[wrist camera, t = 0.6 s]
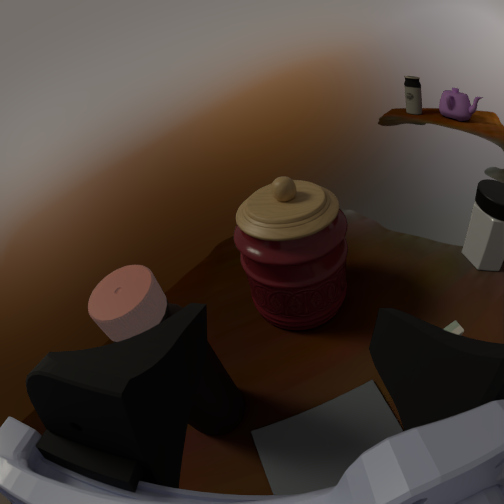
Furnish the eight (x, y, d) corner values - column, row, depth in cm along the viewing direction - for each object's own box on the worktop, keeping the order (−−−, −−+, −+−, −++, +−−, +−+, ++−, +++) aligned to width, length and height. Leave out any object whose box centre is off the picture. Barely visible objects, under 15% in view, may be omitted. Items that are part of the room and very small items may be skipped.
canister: (356, 271, 40) (355, 157, 29) (329, 344, 32) (325, 220, 21) (277, 257, 46) (255, 154, 35) (238, 318, 38) (194, 206, 27)
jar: (497, 280, 30) (522, 215, 23) (457, 260, 36) (473, 194, 29) (505, 250, 34) (523, 190, 27) (469, 233, 40) (481, 173, 32)
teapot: (431, 116, 97) (430, 85, 88) (446, 111, 103) (446, 84, 94) (475, 129, 80) (476, 96, 71) (485, 123, 87) (486, 94, 77)
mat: (443, 505, 13) (444, 505, 12) (307, 572, 11) (307, 572, 11) (371, 381, 27) (372, 379, 26) (251, 432, 25) (250, 431, 25)
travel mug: (413, 110, 107) (411, 75, 96) (425, 114, 100) (423, 78, 89) (402, 111, 106) (400, 75, 95) (414, 115, 100) (412, 77, 89)
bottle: (240, 439, 25) (141, 340, 12) (182, 430, 26) (60, 328, 14) (250, 385, 30) (182, 250, 18) (196, 381, 31) (105, 257, 19)
